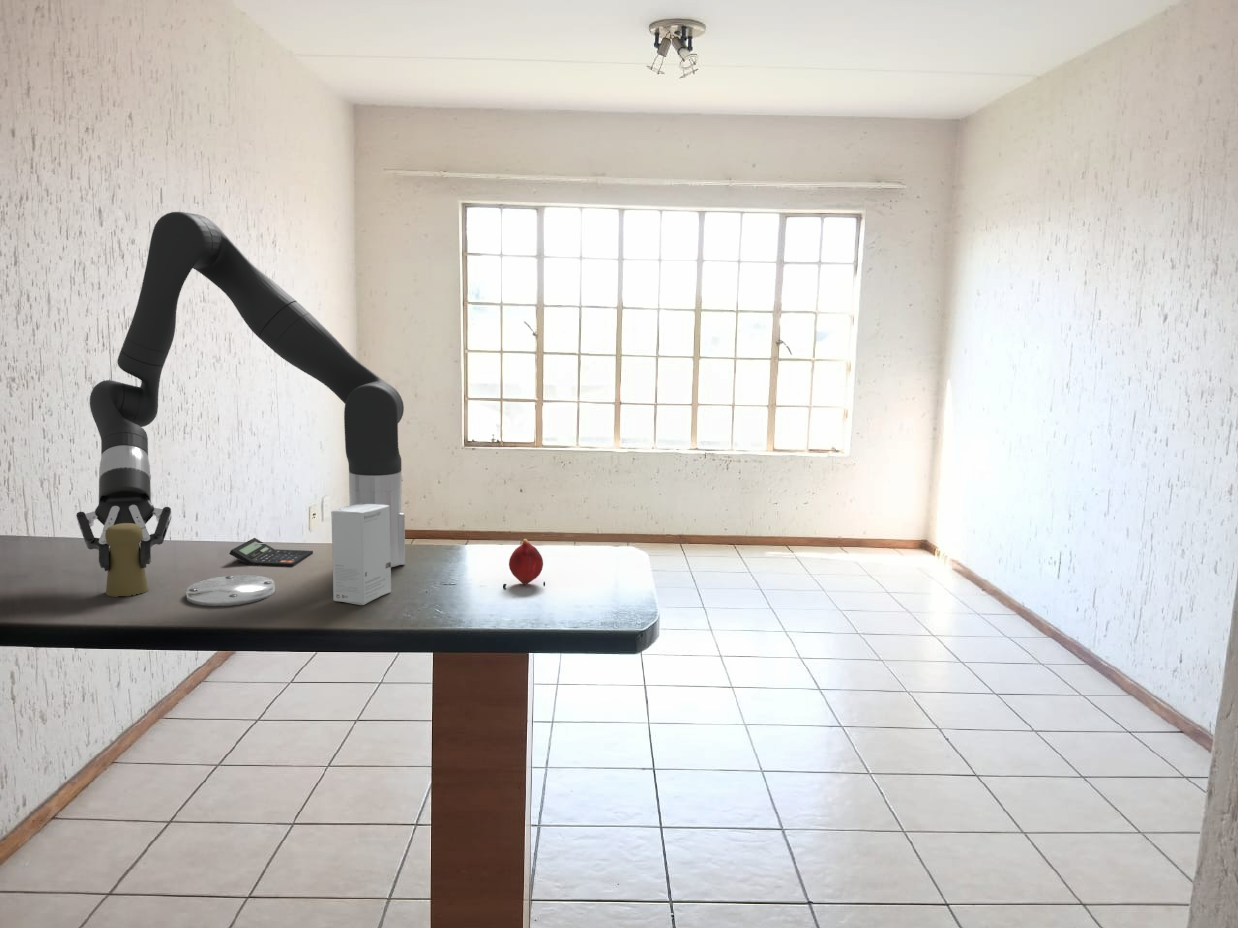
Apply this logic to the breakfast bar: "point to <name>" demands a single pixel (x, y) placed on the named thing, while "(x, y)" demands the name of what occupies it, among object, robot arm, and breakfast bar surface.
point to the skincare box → (361, 553)
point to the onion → (526, 563)
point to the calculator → (268, 554)
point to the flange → (230, 590)
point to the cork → (125, 561)
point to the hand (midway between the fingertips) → (125, 566)
